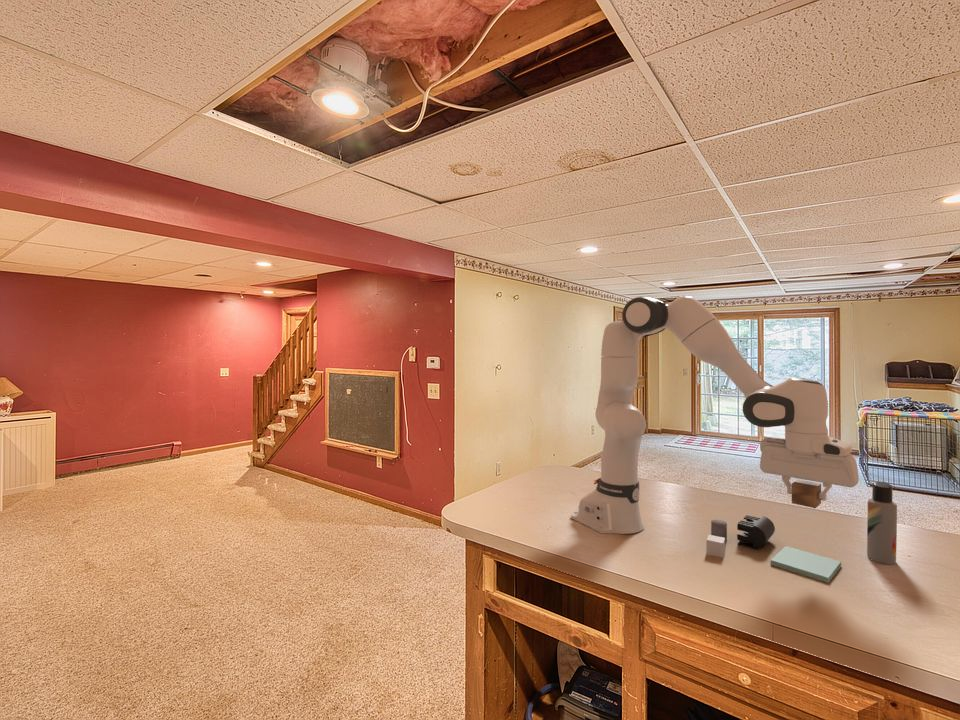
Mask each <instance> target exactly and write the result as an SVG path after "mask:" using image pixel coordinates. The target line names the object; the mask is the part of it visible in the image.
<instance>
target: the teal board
mask: <svg viewBox="0 0 960 720" xmlns="http://www.w3.org/2000/svg"><path fill="white" fill-rule="evenodd" d="M770 565H771V566H774V567H776V568H777V567H778V568H781V569H783V570H786V571H790V572H792V573H796V574H799V575H802V576H805V577H809V578H812V579H815V580H818V581H822V582H825V583H830V581H832V579H833V578H834V576H835V575H836V574H837V572H838V571H839V569H841V567H842V561H840V560H837V559H833V558H830V557H826V556H823V555H819V554H816V553H812V552H808V551H805V550H801V549H798V548H795V547H791V546H787V545H786V546H784V547H783V548H781V550H780V551H779V552H777V554H776V555H774V556H773V557H772V558H771V559H770Z"/></svg>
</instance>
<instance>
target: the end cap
mask: <svg viewBox="0 0 960 720" xmlns="http://www.w3.org/2000/svg"><path fill="white" fill-rule="evenodd" d="M736 527H737V530H738V531H740V532H743V534H739V533H737V535H736V539H737V540H738V542H737V545H738V546H742V547H745V548H748V549H752V550H757V549H760V548H762V547H764V546H765V545H766V543H767V542H768V541H769V540H770V539H771V537H772V536H773V535H774V534H775V531H776V528H775V525H774V522H773V521H772V520H771V519H770V518H768V517H766V516H765V515H762V516H761V517H756V516H753V515H748V514H747V515H745V516H744V517H743V520H739V521H738V522H737V524H736Z"/></svg>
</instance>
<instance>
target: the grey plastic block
mask: <svg viewBox="0 0 960 720" xmlns="http://www.w3.org/2000/svg"><path fill="white" fill-rule="evenodd" d="M705 541H706V548H705V549H706V555H709V556H712V557H713V556H714V557H717V558H721V559H724V557H725V553H726V542H725V538H723V537H718V536H713V535H711V534H708V535H707V538H706V540H705Z"/></svg>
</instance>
